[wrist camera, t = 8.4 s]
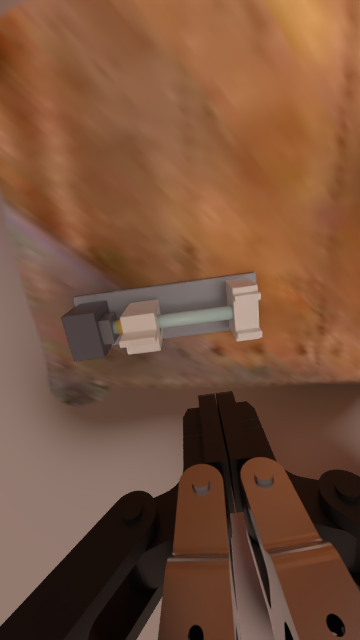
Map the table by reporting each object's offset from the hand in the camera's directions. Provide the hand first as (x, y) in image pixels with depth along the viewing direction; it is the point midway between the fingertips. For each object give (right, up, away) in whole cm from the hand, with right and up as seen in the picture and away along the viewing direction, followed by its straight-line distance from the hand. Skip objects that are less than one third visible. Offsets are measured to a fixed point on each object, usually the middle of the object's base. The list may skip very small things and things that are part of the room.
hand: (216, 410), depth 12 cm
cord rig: (-3, +5, +27) cm, 28 cm away
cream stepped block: (-6, +4, +25) cm, 27 cm away
